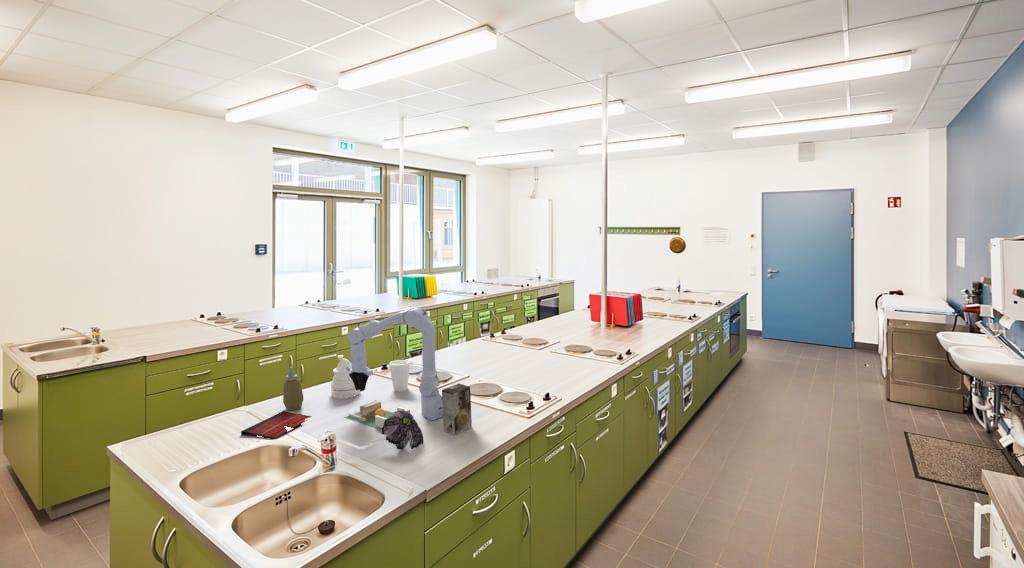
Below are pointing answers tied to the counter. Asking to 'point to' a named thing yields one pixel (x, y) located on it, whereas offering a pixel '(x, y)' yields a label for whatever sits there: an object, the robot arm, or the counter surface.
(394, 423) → the decorative flower
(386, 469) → the counter surface
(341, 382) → the honey pot
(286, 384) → the squeeze bottle
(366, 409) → the block
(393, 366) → the foam cup
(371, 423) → the pitch mat
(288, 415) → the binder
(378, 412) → the ball
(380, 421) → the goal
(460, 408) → the coffee box
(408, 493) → the counter surface
